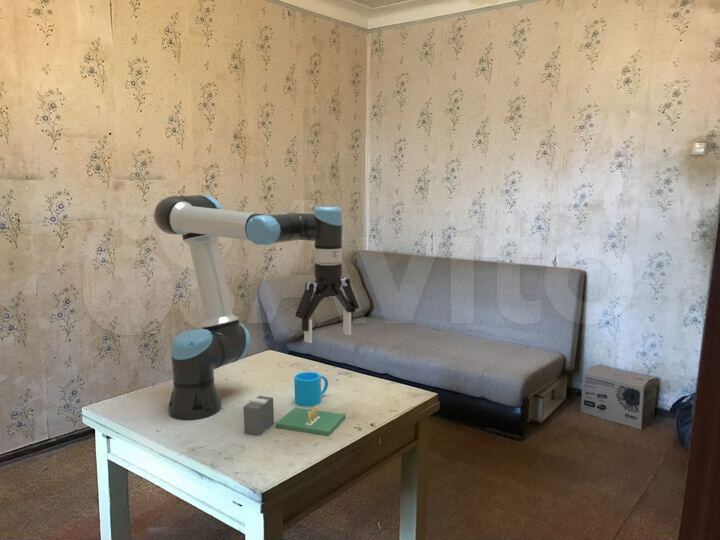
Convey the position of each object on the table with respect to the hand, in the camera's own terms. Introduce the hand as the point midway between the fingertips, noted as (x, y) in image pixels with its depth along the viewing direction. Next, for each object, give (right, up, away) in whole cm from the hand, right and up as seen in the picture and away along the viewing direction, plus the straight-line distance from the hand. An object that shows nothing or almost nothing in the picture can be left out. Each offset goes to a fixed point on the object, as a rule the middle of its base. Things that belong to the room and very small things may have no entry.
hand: (328, 337), depth 153 cm
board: (-5, -24, +1) cm, 25 cm away
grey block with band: (-19, -25, -3) cm, 31 cm away
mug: (-6, -22, +18) cm, 29 cm away
